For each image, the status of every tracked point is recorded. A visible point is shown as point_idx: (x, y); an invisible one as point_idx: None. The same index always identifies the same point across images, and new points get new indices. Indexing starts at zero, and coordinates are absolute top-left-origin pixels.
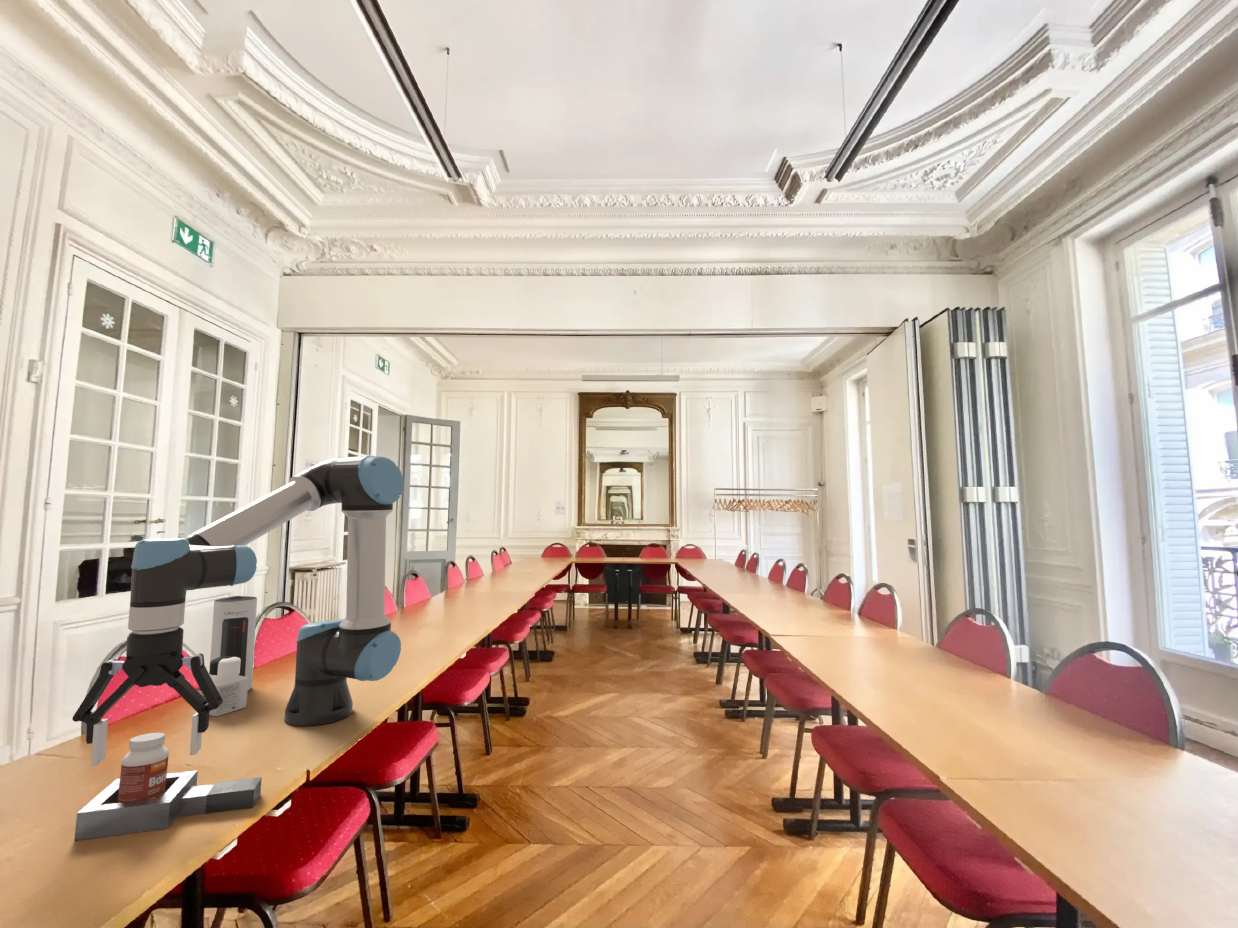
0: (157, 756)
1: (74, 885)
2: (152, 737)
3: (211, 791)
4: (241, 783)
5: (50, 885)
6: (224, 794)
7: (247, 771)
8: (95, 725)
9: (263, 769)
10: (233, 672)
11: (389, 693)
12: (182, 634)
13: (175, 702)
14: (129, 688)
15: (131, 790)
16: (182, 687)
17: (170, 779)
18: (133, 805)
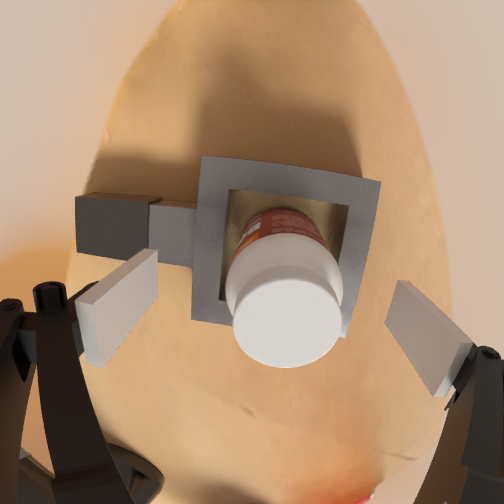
0: (243, 256)
1: (305, 23)
2: (269, 316)
3: (143, 217)
4: (100, 235)
5: (340, 38)
6: (119, 199)
7: (143, 351)
8: (468, 341)
9: (121, 346)
10: None
11: None
12: None
13: None
14: (430, 498)
15: (296, 217)
16: (54, 436)
17: None
18: (277, 169)
